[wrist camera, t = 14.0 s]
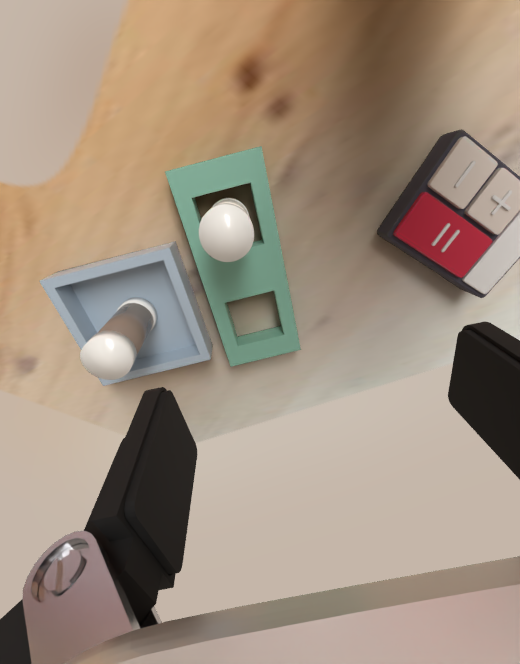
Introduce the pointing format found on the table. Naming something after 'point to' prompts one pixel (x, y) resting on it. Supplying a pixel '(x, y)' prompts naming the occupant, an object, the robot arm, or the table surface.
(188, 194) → the block
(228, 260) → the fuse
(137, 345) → the fuse
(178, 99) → the table surface
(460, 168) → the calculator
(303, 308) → the table surface
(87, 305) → the parts tray
